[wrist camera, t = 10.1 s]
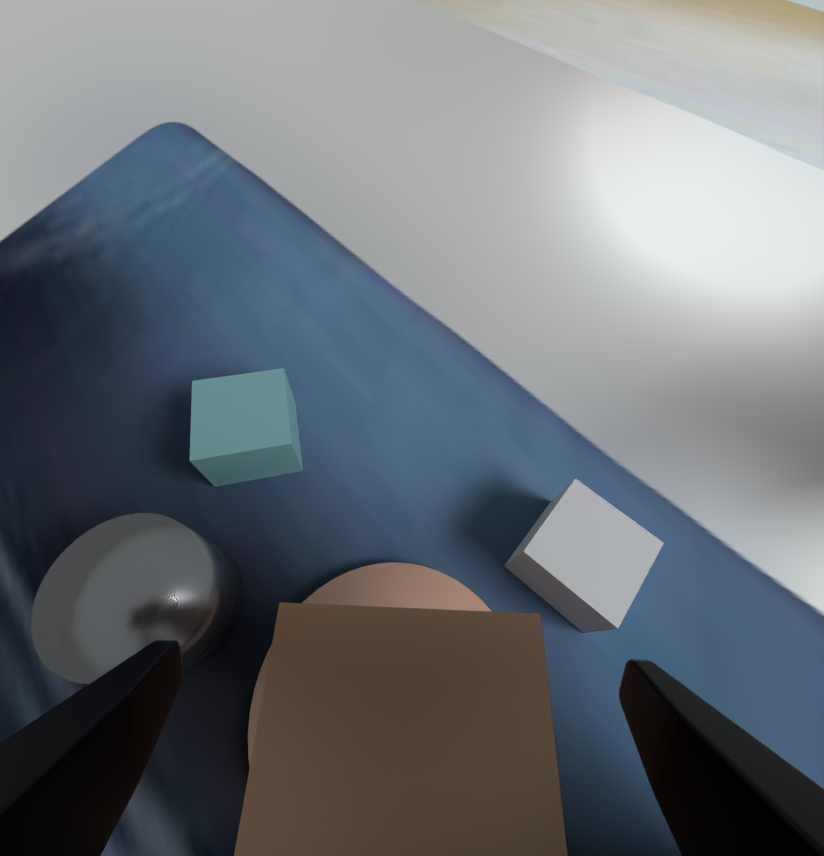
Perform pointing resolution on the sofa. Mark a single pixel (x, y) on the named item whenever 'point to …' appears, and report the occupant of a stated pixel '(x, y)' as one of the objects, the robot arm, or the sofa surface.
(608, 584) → the grey block
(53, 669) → the metal bowl
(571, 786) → the sofa surface
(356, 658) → the walnut block
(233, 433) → the teal block
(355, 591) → the coaster
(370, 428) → the sofa surface
